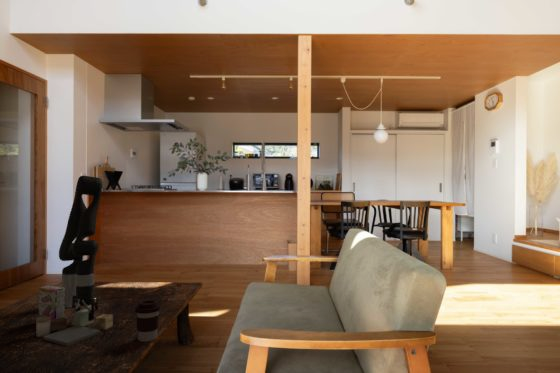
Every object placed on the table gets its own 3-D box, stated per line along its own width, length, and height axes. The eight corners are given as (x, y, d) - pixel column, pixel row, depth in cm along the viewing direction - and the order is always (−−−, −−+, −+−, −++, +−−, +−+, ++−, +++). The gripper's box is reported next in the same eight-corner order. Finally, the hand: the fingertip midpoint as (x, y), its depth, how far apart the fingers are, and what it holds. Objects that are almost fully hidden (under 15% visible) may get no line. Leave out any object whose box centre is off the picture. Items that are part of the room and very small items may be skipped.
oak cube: (95, 329, 162) (95, 317, 162) (102, 325, 167) (102, 314, 167) (105, 329, 161) (105, 318, 161) (112, 325, 166) (112, 314, 166)
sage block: (73, 325, 166) (73, 312, 166) (87, 320, 173) (87, 308, 173) (80, 327, 164) (80, 313, 164) (94, 322, 171) (94, 309, 171)
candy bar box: (37, 323, 168) (38, 287, 169) (47, 320, 173) (48, 285, 173) (55, 326, 165) (56, 289, 165) (65, 323, 169) (65, 287, 170)
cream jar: (32, 335, 154) (33, 318, 154) (45, 331, 159) (45, 315, 159) (40, 337, 152) (41, 320, 152) (53, 333, 157) (54, 316, 157)
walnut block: (48, 329, 162) (48, 320, 162) (64, 326, 166) (64, 317, 166) (51, 331, 159) (51, 322, 159) (66, 328, 163) (66, 319, 163)
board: (43, 339, 150) (43, 336, 150) (77, 327, 164) (77, 324, 164) (67, 346, 144) (67, 342, 144) (100, 333, 157) (100, 330, 157)
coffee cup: (145, 345, 145) (145, 307, 145) (129, 340, 150) (129, 303, 150) (165, 337, 153) (165, 301, 153) (149, 332, 158) (150, 297, 159)
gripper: (67, 283, 168) (66, 319, 168) (88, 287, 163) (88, 324, 162) (81, 280, 175) (81, 314, 175) (103, 283, 169) (102, 318, 169)
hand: (84, 319), depth 168 cm, fingers open, 8 cm apart
